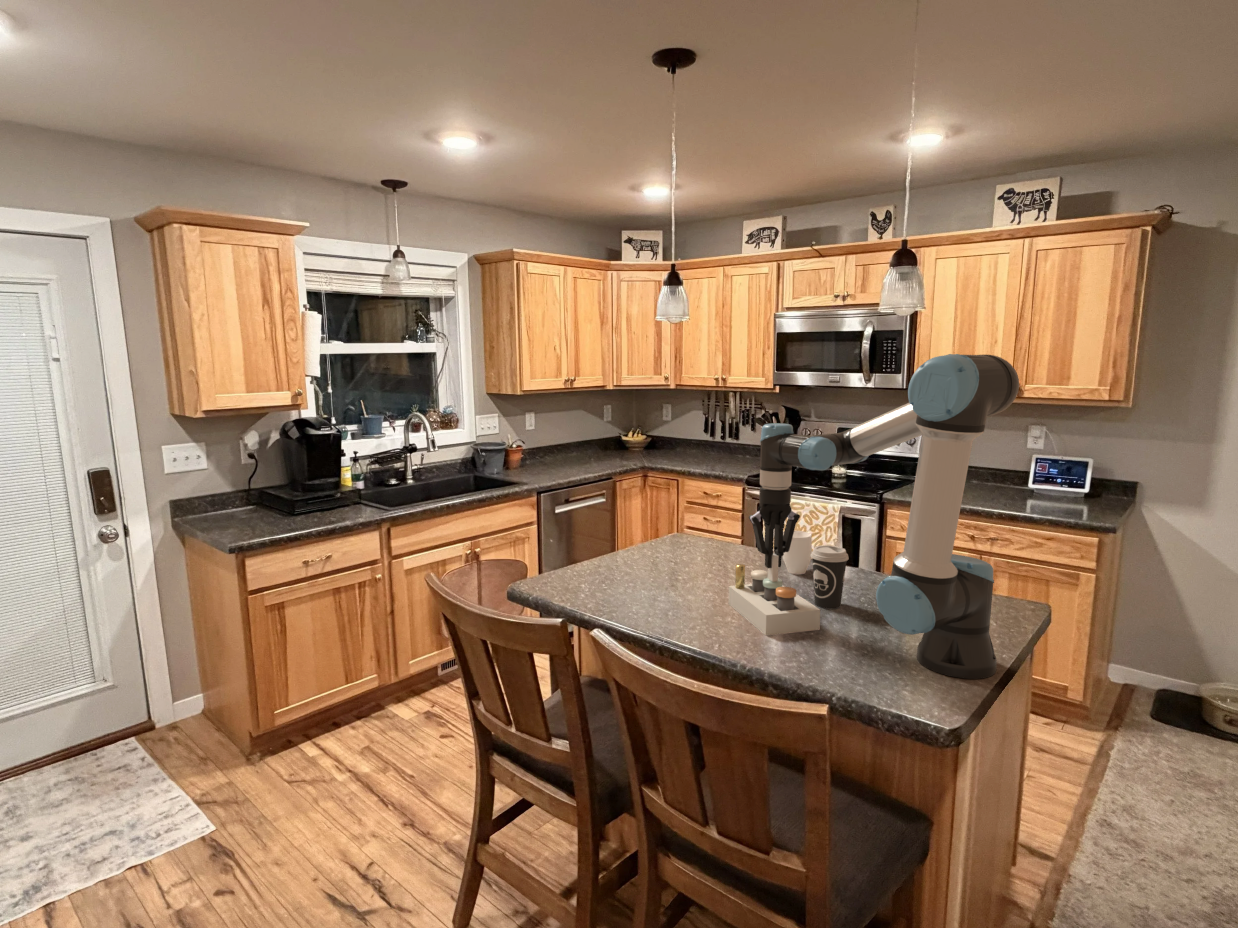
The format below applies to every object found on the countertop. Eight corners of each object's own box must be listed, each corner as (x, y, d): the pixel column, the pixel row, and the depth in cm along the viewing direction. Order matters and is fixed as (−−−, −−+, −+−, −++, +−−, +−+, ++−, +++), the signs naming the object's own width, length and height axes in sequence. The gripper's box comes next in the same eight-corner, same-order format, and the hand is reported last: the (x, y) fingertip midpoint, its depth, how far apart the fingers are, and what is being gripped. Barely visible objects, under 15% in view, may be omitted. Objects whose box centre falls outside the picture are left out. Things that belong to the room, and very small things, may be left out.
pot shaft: (746, 588, 180) (746, 566, 179) (737, 589, 179) (738, 566, 178) (742, 585, 182) (742, 563, 181) (733, 586, 181) (734, 564, 180)
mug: (803, 578, 204) (803, 538, 202) (776, 573, 210) (776, 534, 208) (820, 568, 213) (820, 530, 211) (793, 564, 219) (793, 527, 217)
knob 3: (798, 629, 165) (800, 592, 164) (780, 631, 164) (781, 593, 163) (789, 621, 170) (790, 585, 169) (771, 623, 169) (772, 587, 167)
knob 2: (785, 618, 172) (786, 582, 171) (767, 620, 171) (768, 584, 170) (776, 611, 177) (777, 577, 175) (758, 613, 175) (759, 578, 174)
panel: (819, 629, 165) (820, 609, 164) (765, 635, 162) (766, 615, 161) (777, 599, 186) (777, 581, 185) (728, 604, 183) (728, 585, 182)
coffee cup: (848, 612, 176) (851, 555, 174) (809, 609, 178) (812, 553, 176) (844, 599, 186) (846, 545, 183) (807, 597, 187) (809, 543, 185)
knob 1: (772, 609, 179) (773, 574, 177) (755, 610, 178) (755, 576, 176) (763, 602, 183) (764, 569, 182) (747, 604, 182) (747, 570, 181)
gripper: (792, 483, 174) (789, 573, 178) (744, 485, 171) (742, 577, 174) (807, 488, 167) (803, 582, 170) (757, 490, 164) (755, 586, 167)
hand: (772, 579), depth 172 cm, fingers closed
